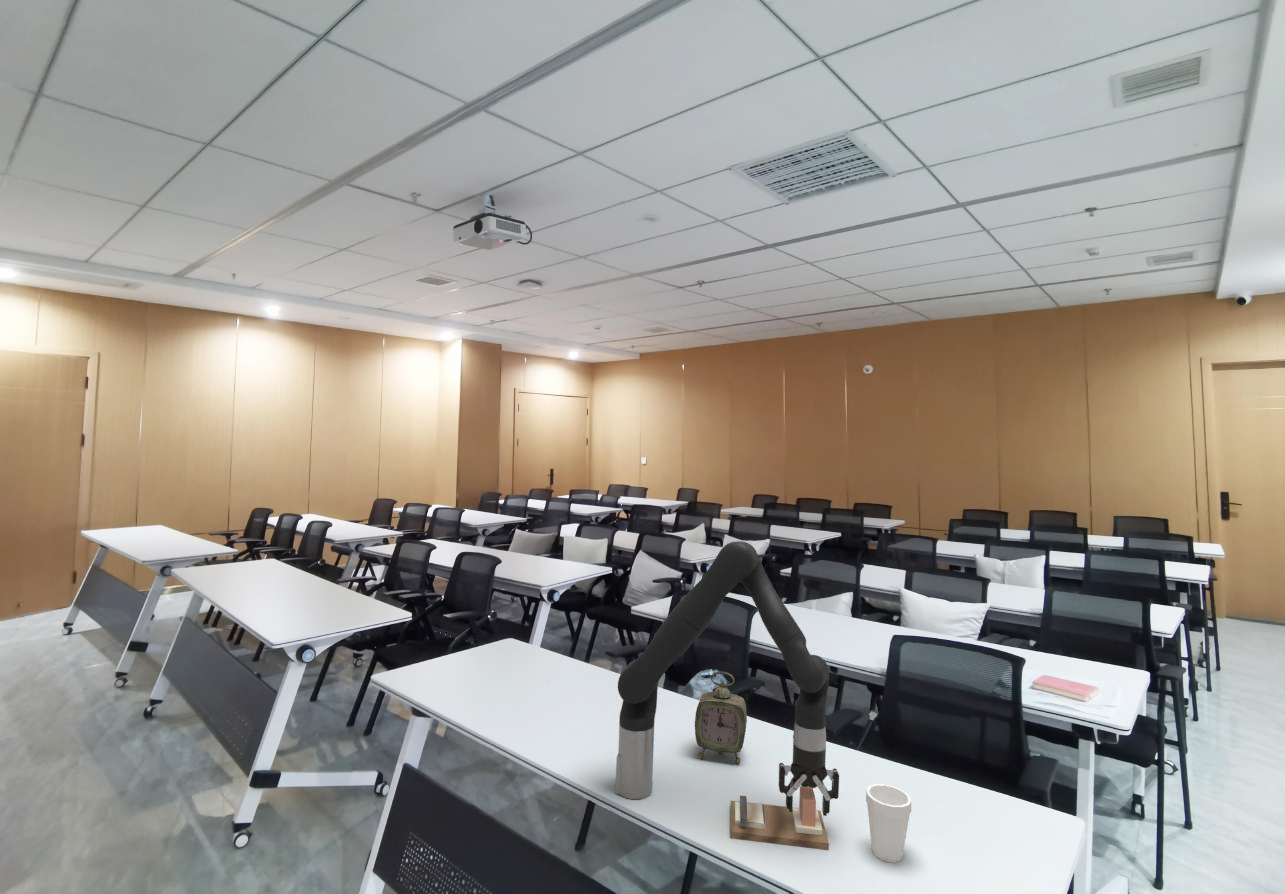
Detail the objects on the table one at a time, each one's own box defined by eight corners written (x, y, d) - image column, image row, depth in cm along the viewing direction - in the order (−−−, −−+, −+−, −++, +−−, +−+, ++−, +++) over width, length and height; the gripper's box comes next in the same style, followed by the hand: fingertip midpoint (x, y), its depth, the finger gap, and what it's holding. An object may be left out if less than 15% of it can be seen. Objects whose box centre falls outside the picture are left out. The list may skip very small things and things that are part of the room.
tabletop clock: (693, 759, 177) (696, 673, 177) (698, 745, 186) (700, 663, 186) (743, 767, 174) (746, 679, 174) (746, 752, 182) (748, 669, 183)
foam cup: (898, 840, 142) (899, 784, 143) (917, 866, 133) (919, 807, 133) (858, 839, 142) (859, 783, 142) (874, 866, 133) (876, 806, 133)
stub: (795, 832, 141) (796, 800, 142) (792, 812, 149) (793, 782, 149) (822, 835, 141) (823, 803, 141) (817, 815, 149) (818, 785, 149)
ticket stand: (730, 837, 141) (731, 821, 141) (730, 806, 154) (731, 791, 154) (828, 849, 138) (829, 832, 138) (820, 816, 151) (820, 801, 151)
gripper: (780, 746, 143) (777, 817, 142) (843, 753, 141) (841, 824, 140) (777, 732, 150) (775, 799, 150) (837, 738, 148) (835, 806, 148)
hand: (807, 811), depth 145 cm, fingers open, 7 cm apart
